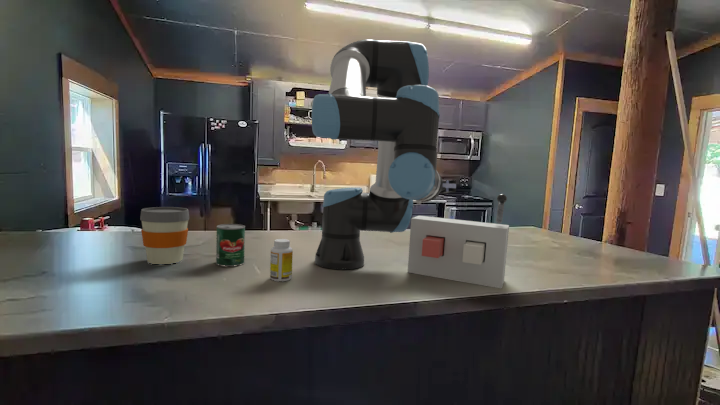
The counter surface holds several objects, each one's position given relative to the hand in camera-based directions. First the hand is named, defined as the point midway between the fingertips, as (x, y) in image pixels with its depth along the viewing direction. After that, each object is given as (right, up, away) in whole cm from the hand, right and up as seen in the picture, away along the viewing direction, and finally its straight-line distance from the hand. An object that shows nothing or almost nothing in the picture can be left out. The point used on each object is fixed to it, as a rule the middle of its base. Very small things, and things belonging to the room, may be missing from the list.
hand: (433, 189), depth 100 cm
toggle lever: (+19, -10, +6) cm, 22 cm away
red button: (+1, -18, +8) cm, 20 cm away
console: (+8, -25, +11) cm, 28 cm away
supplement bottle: (-40, -23, +1) cm, 46 cm away
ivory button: (+11, -19, +3) cm, 22 cm away
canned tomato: (-57, -21, +13) cm, 62 cm away
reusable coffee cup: (-75, -20, +12) cm, 79 cm away
